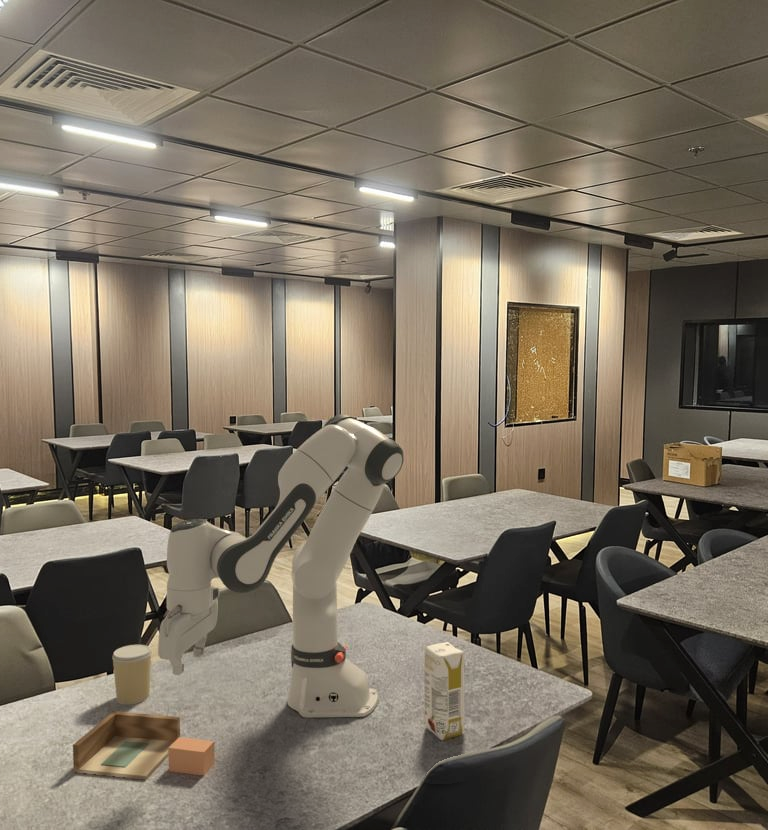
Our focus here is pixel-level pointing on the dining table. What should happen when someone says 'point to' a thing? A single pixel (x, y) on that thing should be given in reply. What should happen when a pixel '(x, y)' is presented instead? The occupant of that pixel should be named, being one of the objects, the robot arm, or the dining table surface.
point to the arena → (126, 745)
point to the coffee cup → (132, 673)
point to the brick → (191, 756)
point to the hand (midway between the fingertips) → (188, 664)
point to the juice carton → (444, 690)
